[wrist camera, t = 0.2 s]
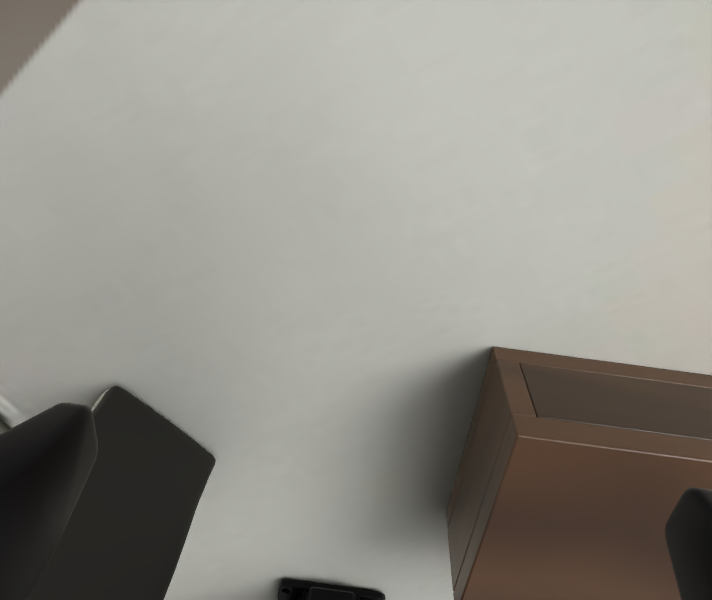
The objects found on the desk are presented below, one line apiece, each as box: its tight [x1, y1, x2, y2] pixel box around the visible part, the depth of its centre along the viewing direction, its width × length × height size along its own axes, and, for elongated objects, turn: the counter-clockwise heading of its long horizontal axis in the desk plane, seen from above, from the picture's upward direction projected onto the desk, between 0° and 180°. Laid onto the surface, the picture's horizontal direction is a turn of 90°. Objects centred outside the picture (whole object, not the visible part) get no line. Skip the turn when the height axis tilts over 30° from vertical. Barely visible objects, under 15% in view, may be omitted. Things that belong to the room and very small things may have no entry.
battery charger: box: [28, 386, 216, 600], centre depth 23 cm, size 7×4×11 cm, turn 44°
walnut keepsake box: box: [446, 347, 712, 600], centre depth 24 cm, size 11×15×6 cm
